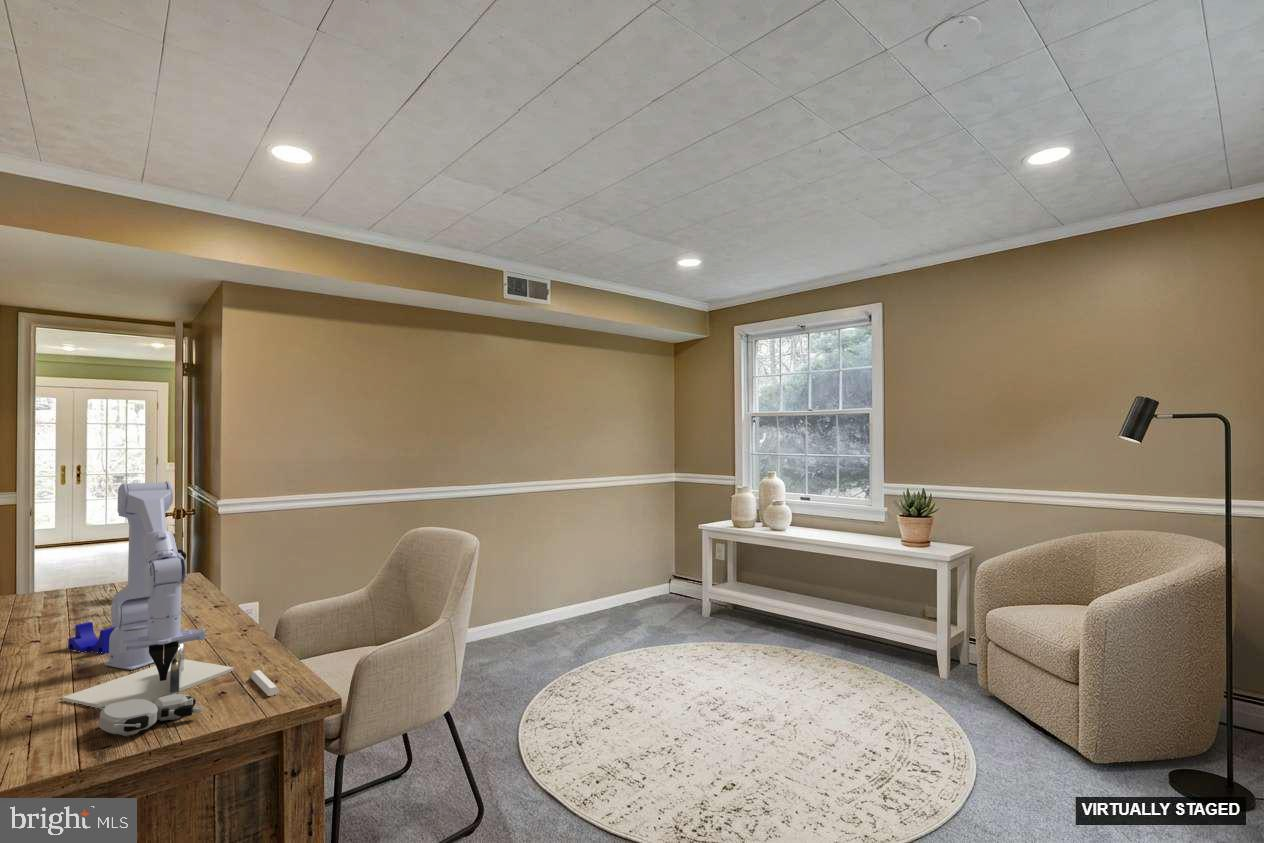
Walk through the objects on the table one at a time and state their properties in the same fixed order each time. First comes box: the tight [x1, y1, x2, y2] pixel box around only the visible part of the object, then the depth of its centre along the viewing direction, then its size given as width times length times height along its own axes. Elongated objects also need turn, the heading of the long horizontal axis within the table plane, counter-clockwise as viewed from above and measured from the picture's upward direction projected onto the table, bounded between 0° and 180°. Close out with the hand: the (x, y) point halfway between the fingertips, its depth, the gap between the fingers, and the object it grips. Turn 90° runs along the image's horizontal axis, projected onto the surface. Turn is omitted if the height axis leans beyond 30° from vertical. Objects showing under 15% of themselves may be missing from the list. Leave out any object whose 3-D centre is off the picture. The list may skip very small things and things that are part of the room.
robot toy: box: [95, 692, 204, 737], centre depth 121 cm, size 12×4×15 cm
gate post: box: [171, 642, 185, 672], centre depth 145 cm, size 2×2×7 cm
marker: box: [250, 669, 281, 697], centre depth 140 cm, size 3×2×16 cm
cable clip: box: [67, 621, 115, 655], centre depth 161 cm, size 12×4×6 cm, turn 67°
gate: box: [170, 647, 181, 694], centre depth 138 cm, size 2×14×6 cm, turn 34°
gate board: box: [61, 658, 235, 710], centre depth 139 cm, size 18×24×1 cm
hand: (163, 679), depth 135 cm, fingers closed
